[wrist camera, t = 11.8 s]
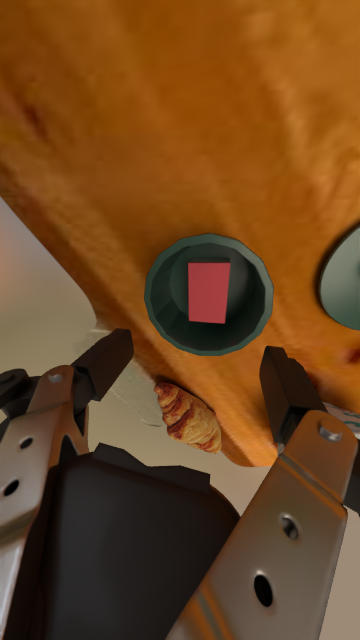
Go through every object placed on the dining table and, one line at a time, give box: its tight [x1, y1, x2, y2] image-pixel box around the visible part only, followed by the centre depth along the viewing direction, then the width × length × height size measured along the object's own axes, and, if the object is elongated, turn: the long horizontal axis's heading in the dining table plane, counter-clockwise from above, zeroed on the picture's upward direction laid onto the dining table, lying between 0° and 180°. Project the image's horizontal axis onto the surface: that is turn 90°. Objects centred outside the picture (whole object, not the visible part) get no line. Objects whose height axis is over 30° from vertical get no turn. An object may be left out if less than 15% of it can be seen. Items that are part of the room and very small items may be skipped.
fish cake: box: [188, 258, 230, 324], centre depth 21 cm, size 7×4×4 cm, turn 2°
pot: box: [144, 233, 274, 356], centre depth 20 cm, size 12×12×8 cm
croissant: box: [154, 382, 222, 454], centre depth 33 cm, size 21×10×8 cm, turn 38°
